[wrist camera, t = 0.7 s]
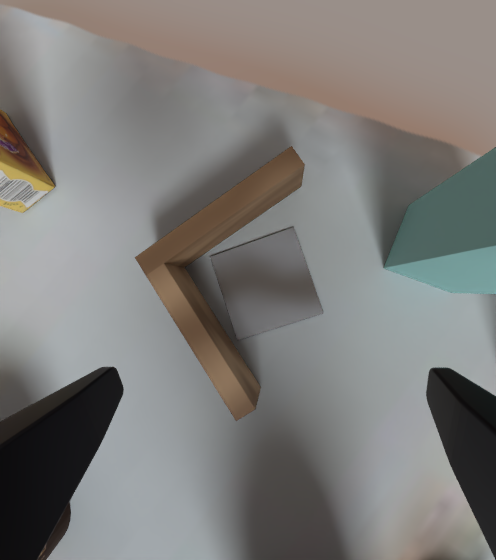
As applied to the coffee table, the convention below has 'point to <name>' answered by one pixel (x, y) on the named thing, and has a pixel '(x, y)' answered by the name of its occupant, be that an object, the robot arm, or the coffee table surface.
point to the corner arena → (236, 278)
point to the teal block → (452, 233)
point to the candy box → (19, 170)
